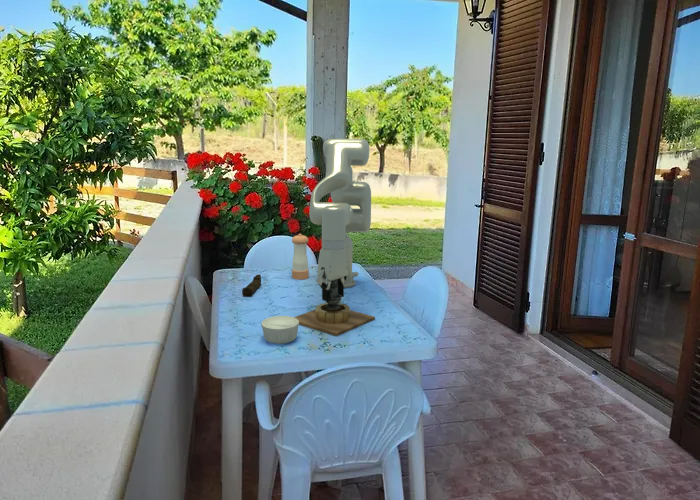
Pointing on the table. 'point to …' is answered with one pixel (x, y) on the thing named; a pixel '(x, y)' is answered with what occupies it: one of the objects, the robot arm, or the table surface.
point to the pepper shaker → (300, 258)
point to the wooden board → (334, 329)
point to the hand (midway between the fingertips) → (332, 298)
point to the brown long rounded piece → (252, 286)
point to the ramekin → (280, 329)
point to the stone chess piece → (334, 296)
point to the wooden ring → (332, 314)
